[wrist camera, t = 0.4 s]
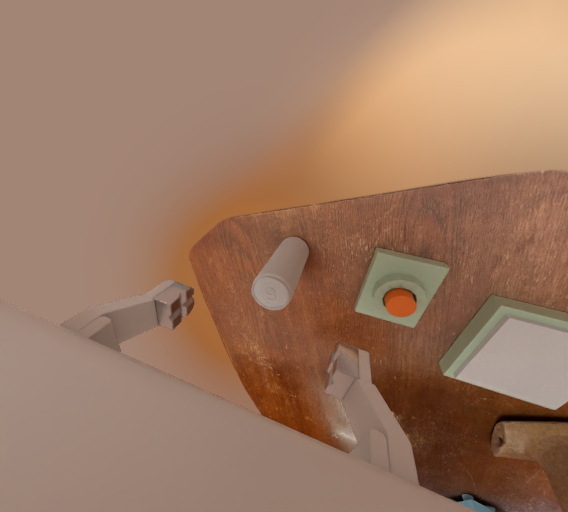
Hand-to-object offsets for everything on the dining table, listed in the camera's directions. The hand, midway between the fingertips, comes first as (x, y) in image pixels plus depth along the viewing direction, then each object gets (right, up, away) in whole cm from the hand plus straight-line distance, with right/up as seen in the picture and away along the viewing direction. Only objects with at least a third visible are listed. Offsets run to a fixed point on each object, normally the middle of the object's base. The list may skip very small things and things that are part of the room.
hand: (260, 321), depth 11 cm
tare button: (+17, -2, +18) cm, 25 cm away
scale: (+36, -10, +20) cm, 42 cm away
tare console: (+18, -1, +21) cm, 28 cm away
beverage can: (+3, +5, +23) cm, 24 cm away
